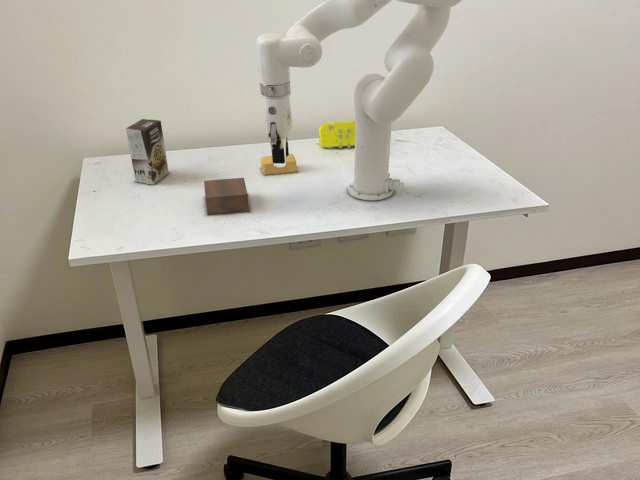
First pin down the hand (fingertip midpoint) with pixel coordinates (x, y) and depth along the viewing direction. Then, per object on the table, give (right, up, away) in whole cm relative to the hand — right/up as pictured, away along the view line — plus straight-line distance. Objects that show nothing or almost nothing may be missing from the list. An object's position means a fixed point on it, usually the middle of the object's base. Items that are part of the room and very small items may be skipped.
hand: (280, 158), depth 165 cm
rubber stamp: (-2, +3, +25) cm, 25 cm away
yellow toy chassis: (+18, +15, +40) cm, 47 cm away
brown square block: (-15, -11, +6) cm, 20 cm away
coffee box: (-39, 0, +21) cm, 45 cm away
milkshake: (0, -2, +1) cm, 2 cm away
